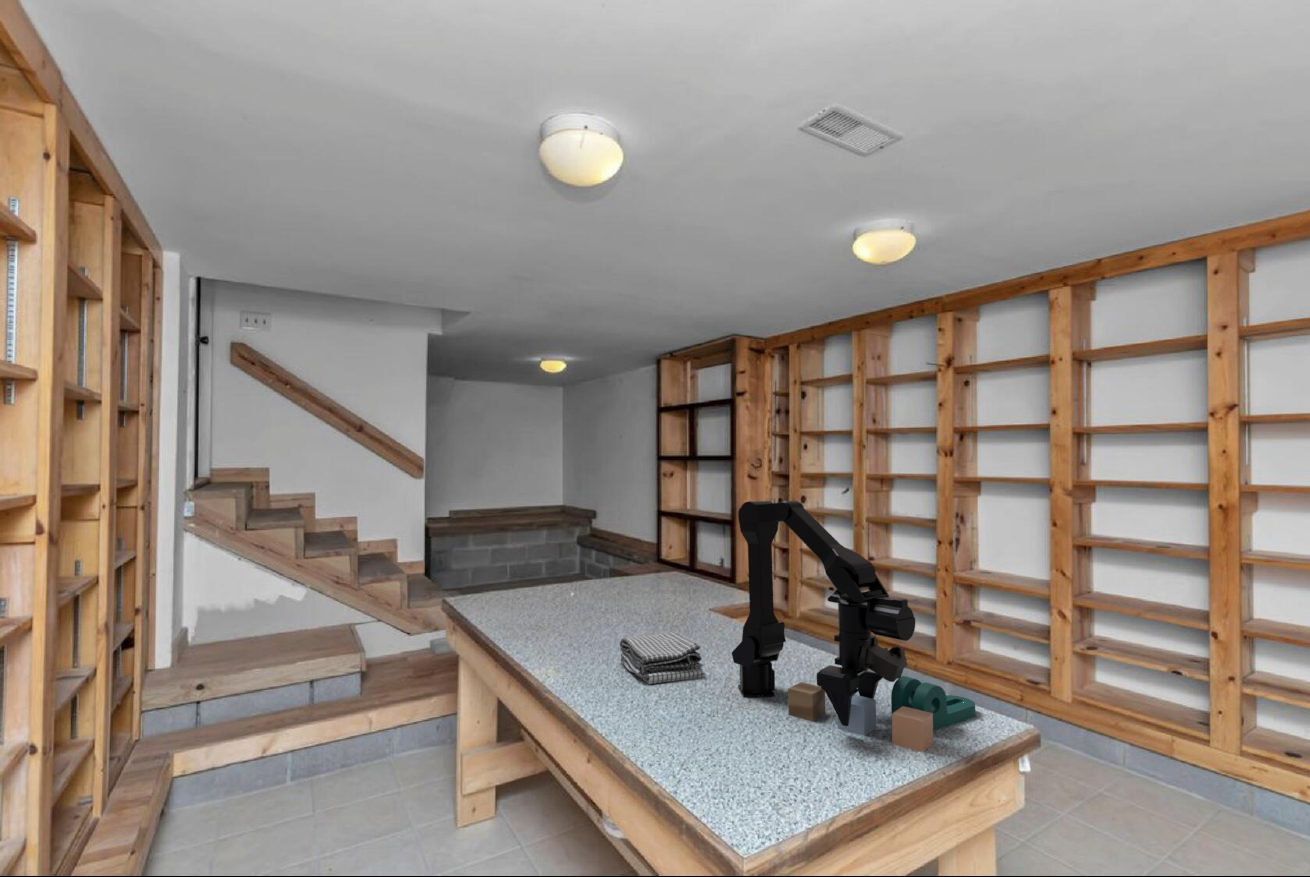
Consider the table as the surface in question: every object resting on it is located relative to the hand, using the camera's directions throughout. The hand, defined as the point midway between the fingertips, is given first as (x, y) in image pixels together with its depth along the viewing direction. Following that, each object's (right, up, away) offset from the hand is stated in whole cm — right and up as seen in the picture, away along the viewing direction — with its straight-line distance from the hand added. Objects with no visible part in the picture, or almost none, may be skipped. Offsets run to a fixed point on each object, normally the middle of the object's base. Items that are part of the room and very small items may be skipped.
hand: (856, 718), depth 115 cm
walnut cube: (-7, -2, +6) cm, 10 cm away
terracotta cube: (+7, -1, -7) cm, 10 cm away
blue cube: (0, -2, 0) cm, 2 cm away
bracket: (+17, -2, +5) cm, 18 cm away
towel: (-35, -4, +34) cm, 49 cm away
